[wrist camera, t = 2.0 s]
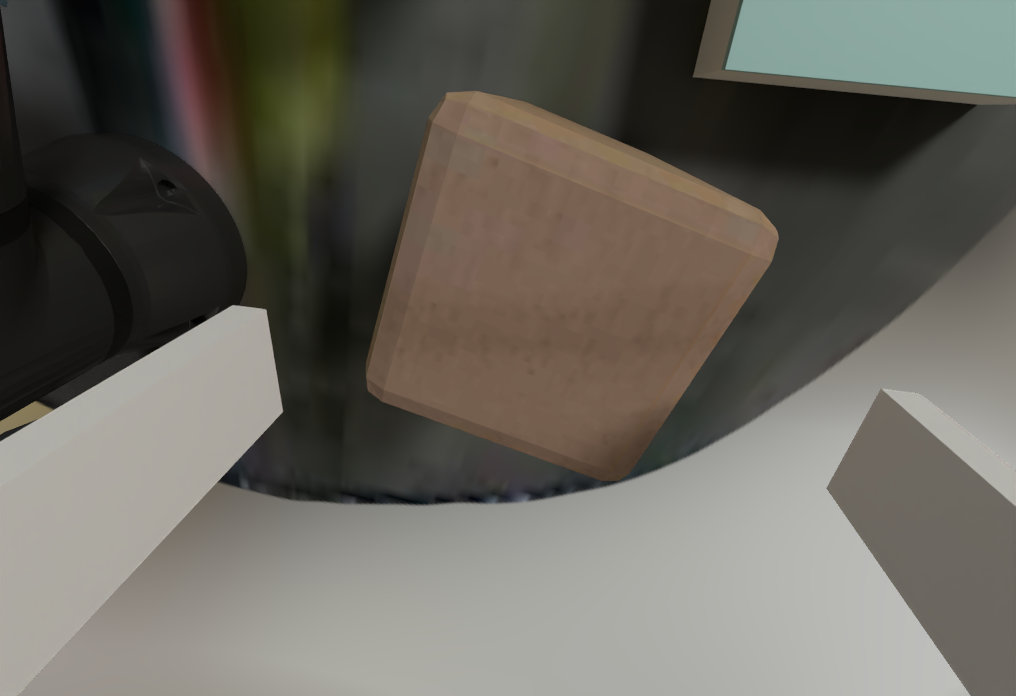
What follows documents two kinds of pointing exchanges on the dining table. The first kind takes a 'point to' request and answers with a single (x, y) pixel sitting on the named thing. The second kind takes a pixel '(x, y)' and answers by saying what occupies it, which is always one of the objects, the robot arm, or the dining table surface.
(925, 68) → the base brick
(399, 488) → the dining table surface
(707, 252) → the wooden block
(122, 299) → the robot arm
